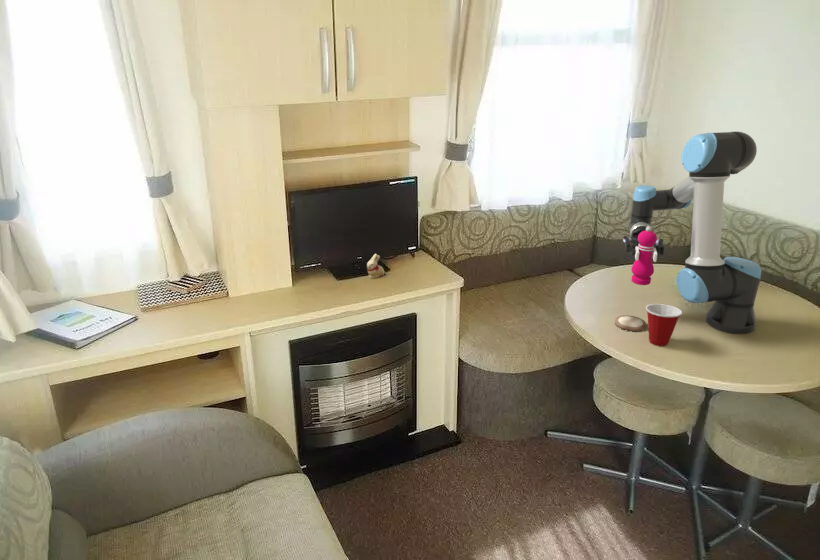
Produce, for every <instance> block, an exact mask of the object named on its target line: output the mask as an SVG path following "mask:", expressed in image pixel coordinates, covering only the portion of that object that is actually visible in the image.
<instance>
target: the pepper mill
mask: <svg viewBox="0 0 820 560" xmlns="http://www.w3.org/2000/svg"><path fill="white" fill-rule="evenodd" d="M651 230H652V226H651V227H647V228H646V231H642V232H641V233H640V234H639V235H638V241H639V243H640V244H638V249H639V258H638V260H636V259H635V260H634V262H633V264H632V266H631V273H632V275H631V282H632V283H633V284H636V285H638V286H648V285H650V284H651V283H652V282H651V281H652V277H651V276H652V275H654V272H655V269H654V268H655V267H654V264H653V261H652V250H654V244H655V243H656V241H658V238H657V237H658V236H657V234H656V233H655V232H654V231H653V230H652V231H651Z"/></svg>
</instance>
